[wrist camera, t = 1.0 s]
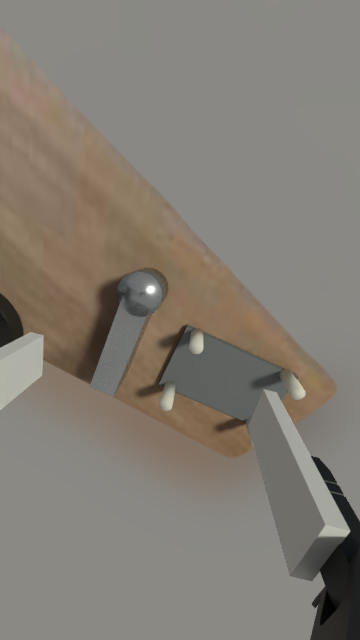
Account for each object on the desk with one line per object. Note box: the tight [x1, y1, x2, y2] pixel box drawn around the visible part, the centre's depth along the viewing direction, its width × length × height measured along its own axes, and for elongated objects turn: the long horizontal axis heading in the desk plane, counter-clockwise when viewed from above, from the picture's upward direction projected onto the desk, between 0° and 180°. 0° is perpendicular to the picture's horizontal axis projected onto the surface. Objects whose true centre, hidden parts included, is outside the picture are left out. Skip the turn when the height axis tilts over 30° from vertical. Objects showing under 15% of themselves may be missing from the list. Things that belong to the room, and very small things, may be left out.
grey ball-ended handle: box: [90, 268, 168, 397], centre depth 35 cm, size 20×6×6 cm, turn 156°
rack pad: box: [159, 325, 305, 450], centre depth 36 cm, size 20×13×6 cm, turn 66°
